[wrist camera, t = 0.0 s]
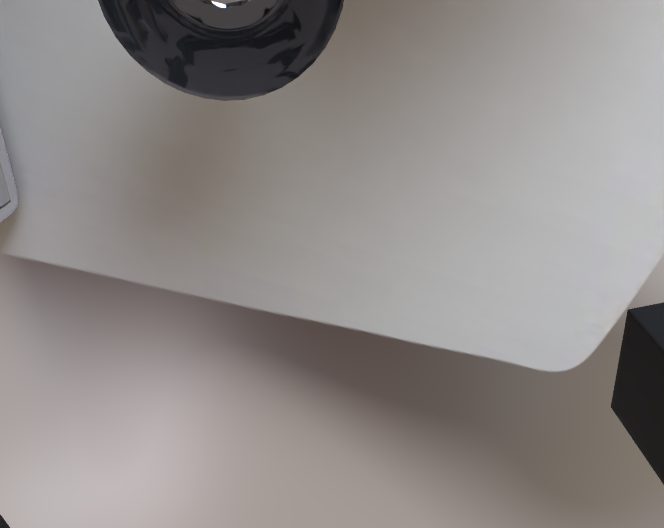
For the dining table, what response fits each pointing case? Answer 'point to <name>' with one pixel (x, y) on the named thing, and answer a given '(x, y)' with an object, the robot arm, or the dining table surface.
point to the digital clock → (6, 184)
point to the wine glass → (223, 41)
